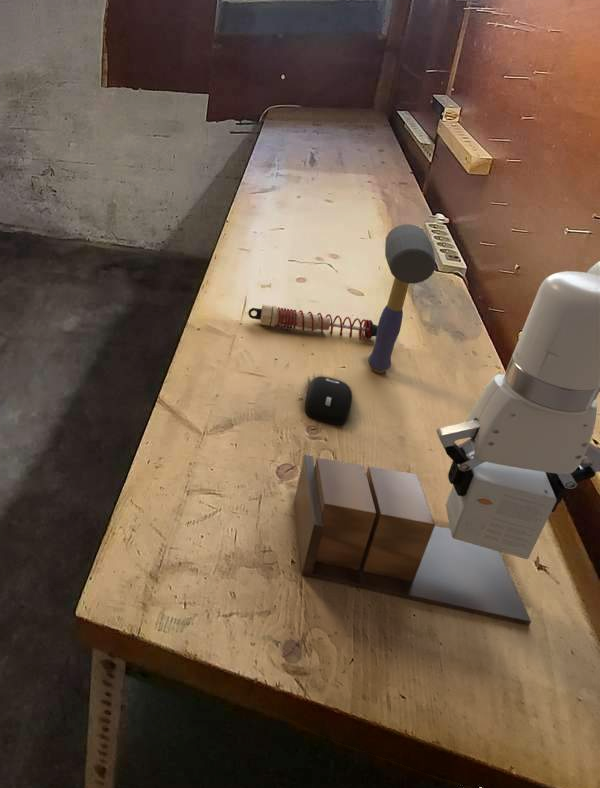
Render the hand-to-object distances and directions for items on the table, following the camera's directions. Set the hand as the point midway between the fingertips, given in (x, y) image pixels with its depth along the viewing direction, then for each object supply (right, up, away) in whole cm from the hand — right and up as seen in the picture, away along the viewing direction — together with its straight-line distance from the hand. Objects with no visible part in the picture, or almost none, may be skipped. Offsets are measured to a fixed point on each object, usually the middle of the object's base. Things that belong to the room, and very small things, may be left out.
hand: (499, 494), depth 68 cm
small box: (0, -6, +3) cm, 7 cm away
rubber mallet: (+11, +6, +45) cm, 46 cm away
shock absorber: (+4, +12, +58) cm, 59 cm away
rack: (-7, -12, +9) cm, 17 cm away
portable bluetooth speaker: (-4, +1, +36) cm, 37 cm away
